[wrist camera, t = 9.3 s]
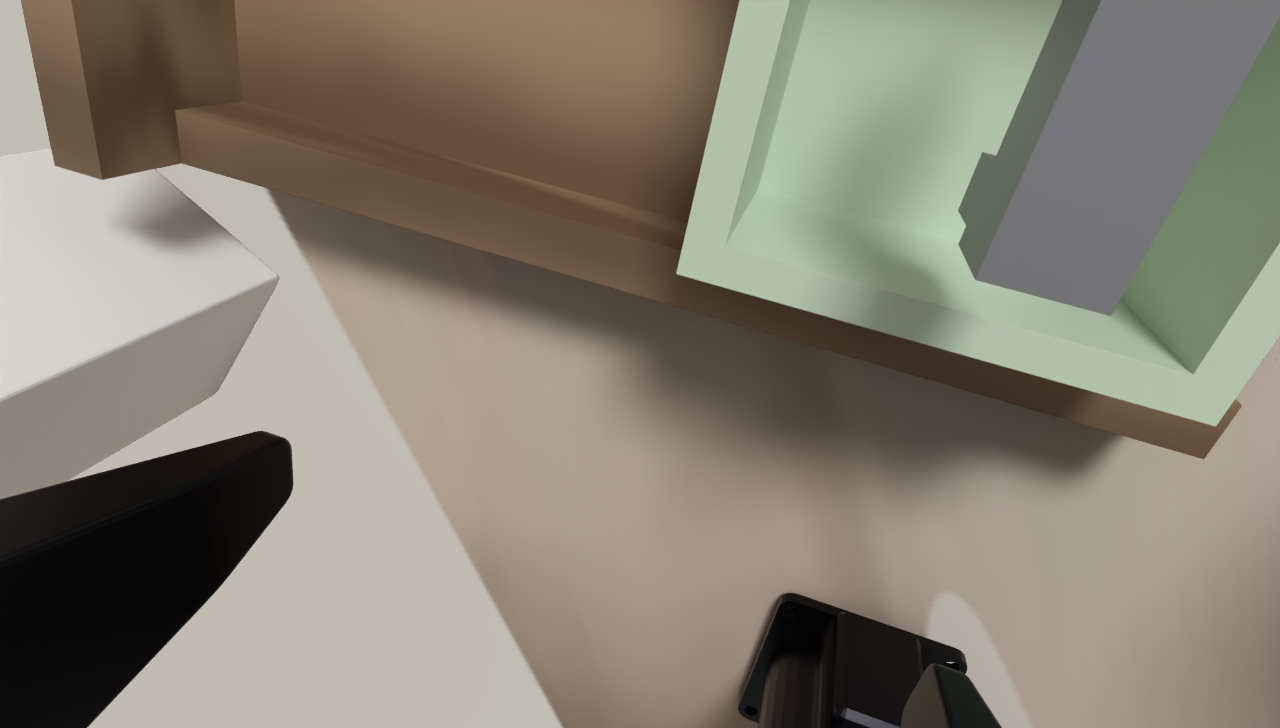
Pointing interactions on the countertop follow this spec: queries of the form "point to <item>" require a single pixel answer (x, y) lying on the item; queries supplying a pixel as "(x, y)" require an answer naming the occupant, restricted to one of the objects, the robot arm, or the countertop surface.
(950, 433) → the countertop surface
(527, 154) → the bay
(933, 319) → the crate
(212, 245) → the milk carton
